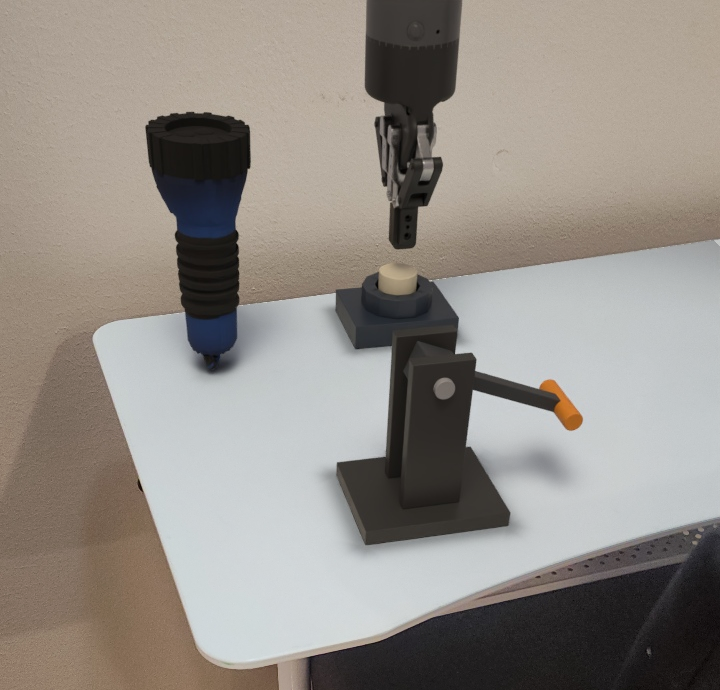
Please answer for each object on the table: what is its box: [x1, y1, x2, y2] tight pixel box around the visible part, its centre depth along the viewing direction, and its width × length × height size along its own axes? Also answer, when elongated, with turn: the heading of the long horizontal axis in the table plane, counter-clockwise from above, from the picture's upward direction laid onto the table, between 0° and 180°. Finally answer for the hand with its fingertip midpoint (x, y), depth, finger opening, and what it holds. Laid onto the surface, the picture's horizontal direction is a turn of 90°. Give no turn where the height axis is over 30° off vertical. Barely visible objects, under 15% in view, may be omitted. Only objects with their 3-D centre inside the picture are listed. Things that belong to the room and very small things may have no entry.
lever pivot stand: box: [336, 325, 511, 546], centre depth 72 cm, size 11×9×13 cm
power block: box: [335, 271, 460, 350], centre depth 95 cm, size 10×8×4 cm
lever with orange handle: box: [403, 341, 584, 432], centre depth 71 cm, size 13×5×2 cm, turn 105°
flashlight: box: [144, 111, 252, 370], centre depth 83 cm, size 8×8×20 cm
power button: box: [378, 262, 418, 295], centre depth 93 cm, size 4×4×2 cm
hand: (401, 245), depth 91 cm, fingers closed
